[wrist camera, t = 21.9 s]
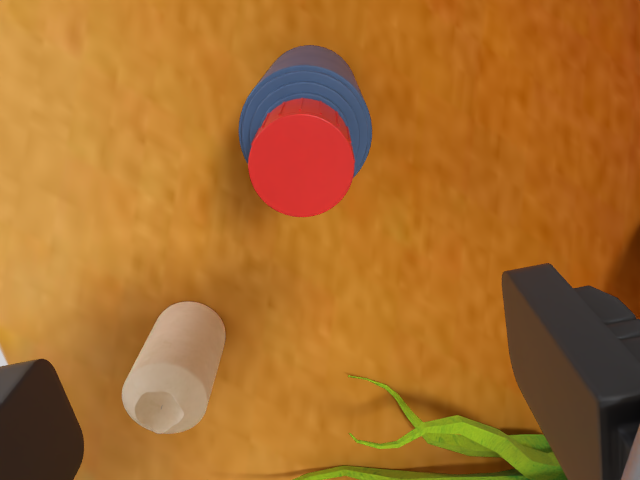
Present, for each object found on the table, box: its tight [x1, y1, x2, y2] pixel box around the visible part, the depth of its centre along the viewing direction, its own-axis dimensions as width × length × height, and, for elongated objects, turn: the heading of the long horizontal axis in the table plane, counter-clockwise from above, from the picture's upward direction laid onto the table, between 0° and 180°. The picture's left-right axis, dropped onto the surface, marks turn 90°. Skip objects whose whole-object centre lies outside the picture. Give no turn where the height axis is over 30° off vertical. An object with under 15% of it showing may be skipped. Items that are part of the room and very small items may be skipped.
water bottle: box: [239, 45, 372, 177], centre depth 31 cm, size 6×6×18 cm
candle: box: [122, 302, 226, 434], centre depth 42 cm, size 6×6×10 cm
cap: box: [248, 98, 355, 217], centre depth 24 cm, size 4×4×4 cm
